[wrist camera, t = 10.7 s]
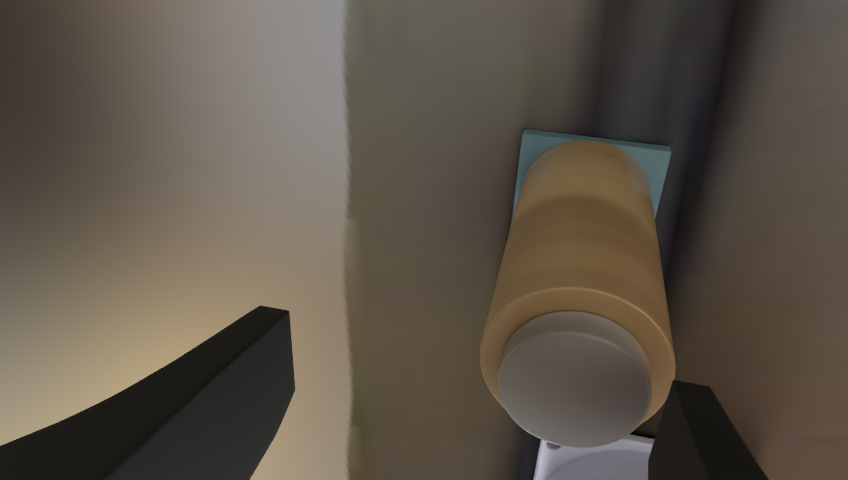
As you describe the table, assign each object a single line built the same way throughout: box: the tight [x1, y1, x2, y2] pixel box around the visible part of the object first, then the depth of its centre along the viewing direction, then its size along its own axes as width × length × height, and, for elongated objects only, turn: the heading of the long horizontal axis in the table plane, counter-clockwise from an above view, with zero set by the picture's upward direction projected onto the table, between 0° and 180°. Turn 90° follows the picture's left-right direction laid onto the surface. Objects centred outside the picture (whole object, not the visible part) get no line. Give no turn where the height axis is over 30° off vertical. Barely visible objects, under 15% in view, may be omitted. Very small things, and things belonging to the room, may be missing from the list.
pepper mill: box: [480, 140, 676, 448], centre depth 17 cm, size 4×4×9 cm
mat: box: [511, 129, 671, 223], centre depth 22 cm, size 9×4×1 cm, turn 177°
